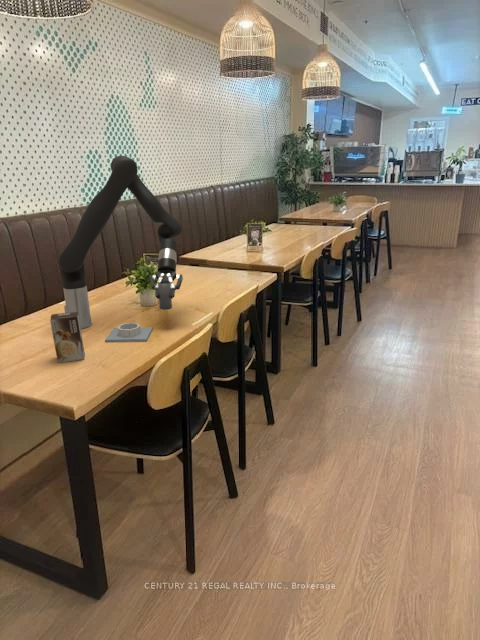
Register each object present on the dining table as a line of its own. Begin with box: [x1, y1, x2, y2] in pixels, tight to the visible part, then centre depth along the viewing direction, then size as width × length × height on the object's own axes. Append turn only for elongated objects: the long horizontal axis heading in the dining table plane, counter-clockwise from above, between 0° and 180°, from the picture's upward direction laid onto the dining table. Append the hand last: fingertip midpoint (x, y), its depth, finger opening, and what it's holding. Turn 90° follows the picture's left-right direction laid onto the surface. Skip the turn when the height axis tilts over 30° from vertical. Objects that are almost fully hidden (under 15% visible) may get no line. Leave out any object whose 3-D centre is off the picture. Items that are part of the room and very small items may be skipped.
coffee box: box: [49, 312, 86, 364], centre depth 162 cm, size 9×6×16 cm
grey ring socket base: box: [104, 322, 154, 343], centre depth 183 cm, size 16×13×4 cm
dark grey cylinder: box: [158, 282, 173, 311], centre depth 187 cm, size 5×5×10 cm
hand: (164, 297), depth 186 cm, fingers closed on dark grey cylinder, 5 cm apart
